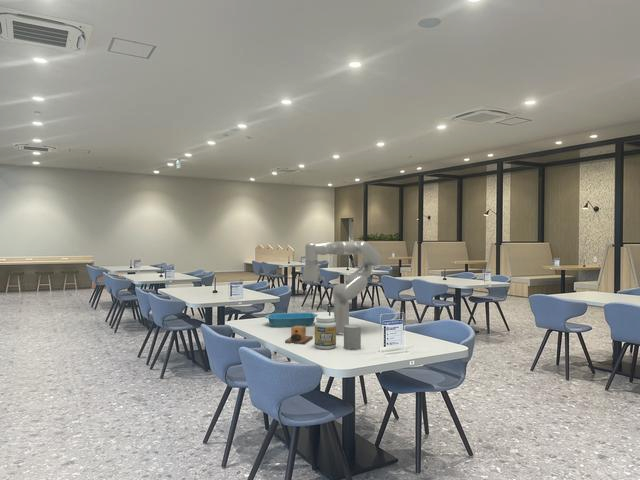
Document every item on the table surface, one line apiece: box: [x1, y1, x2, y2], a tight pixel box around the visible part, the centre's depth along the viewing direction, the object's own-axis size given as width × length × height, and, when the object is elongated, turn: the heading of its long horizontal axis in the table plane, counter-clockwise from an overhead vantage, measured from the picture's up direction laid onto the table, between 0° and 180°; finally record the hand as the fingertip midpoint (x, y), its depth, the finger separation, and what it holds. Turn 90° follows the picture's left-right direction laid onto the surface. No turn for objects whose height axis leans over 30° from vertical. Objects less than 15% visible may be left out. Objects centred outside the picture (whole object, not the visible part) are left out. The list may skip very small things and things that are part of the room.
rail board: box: [284, 334, 314, 345], centre depth 282 cm, size 12×16×4 cm
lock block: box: [290, 326, 307, 341], centre depth 280 cm, size 6×8×7 cm
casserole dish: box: [264, 312, 319, 328], centre depth 333 cm, size 37×22×7 cm, turn 98°
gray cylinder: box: [343, 323, 362, 351], centre depth 264 cm, size 10×10×12 cm
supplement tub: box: [313, 315, 337, 350], centre depth 266 cm, size 12×12×17 cm
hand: (311, 290), depth 295 cm, fingers open, 9 cm apart
